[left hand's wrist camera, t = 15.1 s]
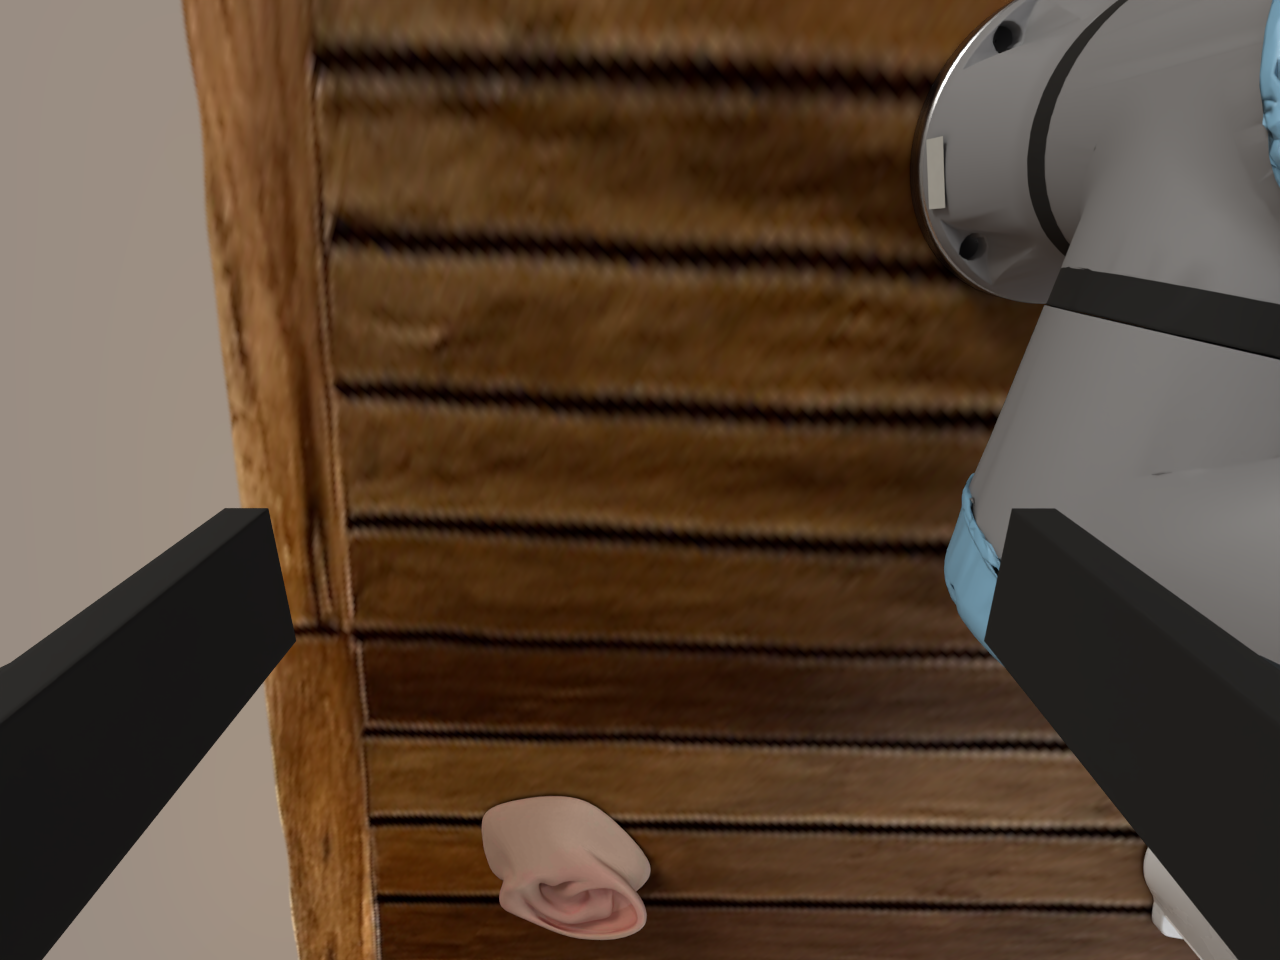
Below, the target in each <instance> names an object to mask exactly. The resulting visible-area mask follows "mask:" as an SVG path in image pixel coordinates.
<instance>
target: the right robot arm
mask: <svg viewBox="0 0 1280 960" xmlns="http://www.w3.org/2000/svg"><path fill="white" fill-rule="evenodd" d="M1143 871H1144V877H1145V881H1146V884H1147V886H1148V888H1149V890H1150V891H1151V893H1152V896H1153V899H1154V903H1153V909H1152V921H1153V923H1154V924H1155V925H1156V927H1157V928H1158V929H1159V930H1160V931H1161V932H1162V934H1164V935H1165V936H1168V937H1173V938H1179V939H1184V940H1185V941H1186V943H1187V944H1188V945H1189V946H1190V947H1191V949H1192V950H1193V951H1194V952H1195V953H1196V955H1197V956H1198V957H1199V958H1200V959H1201V960H1238V959H1237V958H1236V957H1235V955H1234V954H1233V953H1232V952H1231V950H1230V949H1229V948H1228V947H1227V945H1226V944H1225V943H1224V942H1223V940H1222V939H1221V938H1220V937H1219V935H1218V934H1217V933H1216V932H1215V930H1214V929H1213V928H1212V927H1211V925H1210V924H1209V923H1208V922H1207V920H1206V919H1205V918H1204V917H1203V915H1202V914H1201V913H1200V911H1199V910H1198V909H1197V908H1196V906H1195V905H1194V904H1193V903H1192V901H1191V900H1190V899H1189V898H1188V896H1187V895H1186V894H1185V893H1184V891H1183V890H1182V889H1181V888H1180V886H1179V885H1178V884H1177V883H1176V881H1175V880H1174V879H1173V878H1172V876H1171V875H1170V874H1169V873H1168V871H1167V870H1166V869H1165V868H1164V866H1163V865H1162V864H1161V863H1160V861H1159V860H1158V859H1157V858H1156V856H1155V855H1154V854H1153V853H1152V851H1151V850H1150V849H1149V847H1148V848H1147V851H1146V854H1145V858H1144V865H1143Z"/></svg>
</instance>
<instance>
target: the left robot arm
mask: <svg viewBox="0 0 1280 960" xmlns="http://www.w3.org/2000/svg"><path fill="white" fill-rule="evenodd" d="M910 185H911V195H912V201H913V206H914V211H915V214H916V217H917V220H918V224H919V226H920V229H921V231H922V233H923V236H924V238H925V239H926V241H927V243H928V245H929V247H930V248H931V250H932V251H933V252H934V254H935V255H936V257H937V258H938V259H939V260H940V262H941V263H942V264H943V265H944V266H945V267H946V268H947V269H948V270H949V271H950V272H951V273H953V274H954V275H955V276H956V277H957V278H959V279H960V280H962V281H963V282H965V283H966V284H968V285H970V286H972V287H974V288H976V289H977V290H980V291H982V292H985V293H988V294H990V295H994V296H998V297H1002V298H1006V299H1010V300H1014V301H1019V302H1026V303H1039V304H1045V303H1046V304H1047V305H1050V306H1047V305H1044V307H1043V310H1042V312H1041V315H1040V317H1039V320H1038V322H1037V325H1036V327H1035V329H1034V332H1033V334H1032V337H1031V339H1030V342H1029V344H1028V347H1027V349H1026V351H1025V354H1024V356H1023V359H1022V361H1021V364H1020V366H1019V369H1018V371H1017V373H1016V376H1015V378H1014V381H1013V383H1012V386H1011V388H1010V391H1009V393H1008V395H1007V398H1006V400H1005V403H1004V405H1003V408H1002V410H1001V413H1000V415H999V417H998V420H997V422H996V425H995V427H994V430H993V432H992V434H991V437H990V439H989V441H988V444H987V446H986V448H985V451H984V453H983V455H982V457H981V460H980V462H979V464H978V467H977V469H976V471H975V473H973V474H971V476H970V477H969V479H968V480H967V482H966V485H965V488H964V489H963V493H962V508H961V511H960V514H959V517H958V520H957V523H956V527H955V530H954V532H953V535H952V538H951V541H950V543H949V546H948V549H947V553H946V557H945V565H944V573H945V581H946V585H947V588H948V590H949V593H950V596H951V598H952V600H953V601H954V603H955V604H956V605H957V611H958V613H959V615H960V617H961V618H962V620H963V621H964V623H965V624H966V626H967V627H968V628H969V630H970V631H971V632H972V634H973V635H974V636H975V637H976V638H977V640H978V641H979V642H980V643H981V644H982V645H983V646H984V647H985V648H986V649H987V651H988V652H989V653H990V654H991V655H992V656H993V657H994V658H995V659H996V660H997V661H998V662H1000V663H1001V664H1002V665H1003V666H1004V667H1005V668H1006V669H1007V671H1008V672H1009V673H1010V674H1011V676H1012V677H1013V678H1014V679H1015V681H1016V682H1017V683H1018V684H1019V686H1020V687H1021V688H1022V689H1023V691H1024V692H1025V693H1026V694H1027V696H1028V697H1029V698H1030V699H1031V701H1032V702H1033V703H1034V704H1035V706H1036V707H1037V708H1038V709H1039V711H1040V712H1041V713H1042V714H1043V716H1044V717H1045V718H1046V719H1047V721H1048V722H1049V723H1050V724H1051V726H1052V727H1053V728H1054V730H1055V731H1056V732H1057V733H1058V735H1059V736H1060V737H1061V738H1062V740H1063V741H1064V742H1065V743H1066V745H1067V746H1068V747H1069V748H1070V750H1071V751H1072V752H1073V753H1074V755H1075V756H1076V757H1077V758H1078V760H1079V761H1080V762H1081V763H1082V765H1083V766H1084V767H1085V768H1086V770H1087V771H1088V772H1089V773H1090V775H1091V776H1092V777H1093V778H1094V780H1095V781H1096V782H1097V783H1098V785H1099V786H1100V787H1101V788H1102V790H1103V791H1104V792H1105V794H1106V795H1107V796H1108V797H1109V799H1110V800H1111V801H1112V802H1113V804H1114V805H1115V806H1116V807H1117V809H1118V810H1119V811H1120V812H1121V814H1122V815H1123V816H1124V817H1125V819H1126V820H1127V821H1128V822H1129V824H1130V825H1131V826H1132V827H1133V829H1134V830H1135V831H1136V832H1137V834H1138V835H1139V836H1140V837H1141V839H1142V840H1143V841H1144V842H1145V844H1146V845H1147V846H1148V847H1149V849H1150V850H1151V851H1152V853H1153V854H1154V855H1155V856H1156V858H1157V859H1158V860H1159V861H1160V863H1161V864H1162V865H1163V866H1164V868H1165V869H1166V870H1167V871H1168V873H1169V874H1170V875H1171V876H1172V878H1173V879H1174V880H1175V881H1176V883H1177V884H1178V885H1179V886H1180V888H1181V889H1182V890H1183V891H1184V893H1185V894H1186V895H1187V896H1188V898H1189V899H1190V900H1191V901H1192V903H1193V904H1194V905H1195V906H1196V908H1197V909H1198V910H1199V911H1200V913H1201V914H1202V915H1203V917H1204V918H1205V919H1206V920H1207V922H1208V923H1209V924H1210V925H1211V927H1212V928H1213V929H1214V930H1215V932H1216V933H1217V934H1218V935H1219V937H1220V938H1221V939H1222V940H1223V942H1224V943H1225V944H1226V945H1227V947H1228V948H1229V949H1230V950H1231V952H1232V953H1233V954H1234V955H1235V957H1236V958H1237V959H1238V960H1280V0H1013V1H1011V2H1010V3H1008V4H1007V5H1005V6H1004V7H1002V8H1000V9H999V10H997V11H996V12H995V13H993V14H992V15H991V16H990V17H988V18H987V19H986V20H984V21H983V22H982V23H981V24H980V25H979V26H978V27H977V28H976V29H974V30H973V31H972V32H971V33H970V34H969V35H968V37H967V38H966V39H965V40H964V41H963V42H962V43H961V44H960V45H959V46H958V48H957V49H956V50H955V52H954V53H953V54H952V55H951V57H950V58H949V59H948V61H947V62H946V64H945V65H944V67H943V68H942V70H941V71H940V73H939V75H938V76H937V78H936V80H935V82H934V84H933V86H932V87H931V89H930V92H929V94H928V96H927V98H926V100H925V103H924V105H923V108H922V111H921V114H920V116H919V119H918V123H917V127H916V131H915V134H914V140H913V145H912V151H911V163H910ZM1056 307H1057V308H1056ZM1061 308H1062V309H1061ZM1065 309H1067V310H1065ZM1070 310H1072V311H1070ZM1074 311H1077V312H1074ZM1079 312H1082V313H1079ZM1083 313H1087V314H1083ZM1088 314H1091V315H1088ZM1092 315H1095V316H1092ZM1097 316H1100V317H1097ZM1101 317H1104V318H1101ZM1106 318H1108V319H1106ZM1110 319H1113V320H1110ZM1115 320H1117V321H1115ZM1119 321H1121V322H1119ZM1123 322H1126V323H1123ZM1128 323H1130V324H1128ZM1132 324H1134V325H1132ZM1137 325H1139V326H1137ZM1141 326H1143V327H1141ZM1146 327H1147V328H1146ZM1150 328H1151V329H1150ZM1154 329H1155V330H1154ZM1224 345H1225V346H1224ZM1233 347H1234V348H1233ZM295 642H296V638H295V633H294V629H293V624H292V619H291V614H290V610H289V605H288V600H287V595H286V591H285V586H284V581H283V576H282V572H281V567H280V562H279V557H278V553H277V548H276V543H275V538H274V534H273V529H272V524H271V519H270V514H269V510H268V508H225V509H223V510H222V511H220V512H219V513H218V514H216V515H215V516H214V517H212V518H211V519H209V520H208V521H207V522H205V523H204V524H202V525H201V526H200V527H198V528H197V529H195V530H194V531H193V532H191V533H190V534H189V535H187V536H186V537H184V538H183V539H182V540H180V541H179V542H177V543H176V544H175V545H173V546H172V547H170V548H169V549H168V550H166V551H165V552H164V553H162V554H161V555H159V556H158V557H157V558H155V559H154V560H152V561H151V562H150V563H148V564H147V565H145V566H144V567H143V568H141V569H140V570H139V571H137V572H136V573H134V574H133V575H132V576H130V577H129V578H127V579H126V580H125V581H123V582H122V583H121V584H119V585H118V586H116V587H115V588H114V589H112V590H111V591H109V592H108V593H107V594H105V595H104V596H102V597H101V598H100V599H98V600H97V601H96V602H94V603H93V604H91V605H90V606H89V607H87V608H86V609H85V610H83V611H82V612H80V613H79V614H77V615H76V616H75V617H73V618H72V619H71V620H69V621H68V622H66V623H65V624H64V625H62V626H61V627H59V628H58V629H57V630H55V631H54V632H53V633H51V634H50V635H48V636H47V637H46V638H44V639H43V640H41V641H40V642H39V643H37V644H36V645H34V646H33V647H32V648H30V649H29V650H28V651H26V652H25V653H23V654H22V655H21V656H19V657H18V658H16V659H15V660H14V661H12V662H11V663H9V664H7V665H5V666H3V667H1V668H0V960H42V959H43V958H44V957H45V955H46V954H47V953H48V952H49V950H50V949H51V948H52V947H53V945H54V944H55V943H56V942H57V940H58V939H59V938H60V937H61V935H62V934H63V933H64V932H65V930H66V929H67V928H68V927H69V925H70V924H71V923H72V921H73V920H74V919H75V918H76V916H77V915H78V914H79V913H80V911H81V910H82V909H83V908H84V906H85V905H86V904H87V903H88V901H89V900H90V899H91V898H92V896H93V895H94V894H95V893H96V891H97V890H98V889H99V888H100V886H101V885H102V884H103V883H104V881H105V880H106V879H107V878H108V876H109V875H110V874H111V873H112V871H113V870H114V869H115V868H116V866H117V865H118V864H119V863H120V861H121V860H122V859H123V857H124V856H125V855H126V854H127V853H128V851H129V850H130V849H131V847H132V846H133V845H134V844H135V842H136V841H137V840H138V839H139V837H140V836H141V835H142V834H143V832H144V831H145V830H146V829H147V827H148V826H149V825H150V824H151V822H152V821H153V820H154V819H155V817H156V816H157V815H158V814H159V812H160V811H161V810H162V809H163V807H164V806H165V805H166V804H167V802H168V801H169V800H170V799H171V797H172V796H173V795H174V793H175V792H176V791H177V790H178V788H179V787H180V786H181V785H182V783H183V782H184V781H185V780H186V778H187V777H188V776H189V775H190V773H191V772H192V771H193V770H194V768H195V767H196V766H197V765H198V763H199V762H200V761H201V760H202V758H203V757H204V756H205V755H206V753H207V752H208V751H209V750H210V748H211V747H212V746H213V745H214V743H215V742H216V741H217V739H218V738H219V737H220V736H221V735H222V733H223V732H224V731H225V730H226V728H227V727H228V726H229V724H230V723H231V722H232V721H233V719H234V718H235V717H236V716H237V714H238V713H239V712H240V711H241V709H242V708H243V707H244V706H245V704H246V703H247V702H248V701H249V699H250V698H251V697H252V696H253V694H254V693H255V692H256V691H257V689H258V688H259V687H260V686H261V684H262V683H263V682H264V681H265V679H266V678H267V677H268V676H269V674H270V673H271V672H272V671H273V669H274V668H275V667H276V665H277V664H278V663H279V662H280V660H281V659H282V658H283V657H284V655H285V654H286V653H287V652H288V650H289V649H290V648H291V647H292V645H293V644H294V643H295Z"/></svg>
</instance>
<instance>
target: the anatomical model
mask: <svg viewBox="0 0 1280 960" xmlns="http://www.w3.org/2000/svg"><path fill="white" fill-rule="evenodd" d="M482 837H483V845H484V851H485V854H486V857H487V860H488V863H489V866H490V868H491V870H492V871H493V873H494V874H495V875H496V876H497V877H498V878H500V879H501V880H503V884H502V887H501V891H500V895H499V900H500V904H501V906H502V907H503V908H504V909H505V910H506V911H508V912H510V913H512V914H514V915H516V916H519V917H521V918H523V919H526V920H528V921H530V922H533V923H535V924H537V925H540V926H542V927H544V928H547V929H549V930H552V931H554V932H557V933H559V934H563V935H566V936H569V937H574V938H580V939H591V940H609V939H617V938H622V937H626V936H629V935H631V934H634V933H636V932H637V931H639V930H640V929H641V928H642V927H643V926H644V925H645V923H646V917H647V914H646V909H645V906H644V904H643V901H642V900H641V898H640V896H639V895H638V894H637V892H636V891H637V890H638V889H639V888H641V887H642V886H643V885H644V883H645V882H646V881H647V879H648V878H649V875H650V870H651V869H650V864H649V862H648V859H647V858H646V856H645V855H644V853H643V852H642V850H641V849H640V848H639V846H638V845H637V844H636V843H635V842H634V841H633V839H632V838H631V837H630V836H629V835H628V834H627V833H626V832H625V831H624V830H623V829H622V828H621V827H620V826H619V825H618V824H617V823H616V822H615V821H614V820H612V819H611V818H610V817H609V816H608V815H607V814H605V813H604V812H603V811H601V810H600V809H598V808H597V807H595V806H594V805H592V804H590V803H588V802H586V801H583V800H580V799H577V798H572V797H565V796H543V797H533V798H526V799H520V800H515V801H511V802H507V803H503V804H500V805H497V806H495V807H493V808H491V809H490V810H488V811H487V812H486V813H485V815H484V817H483V820H482Z"/></svg>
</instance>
